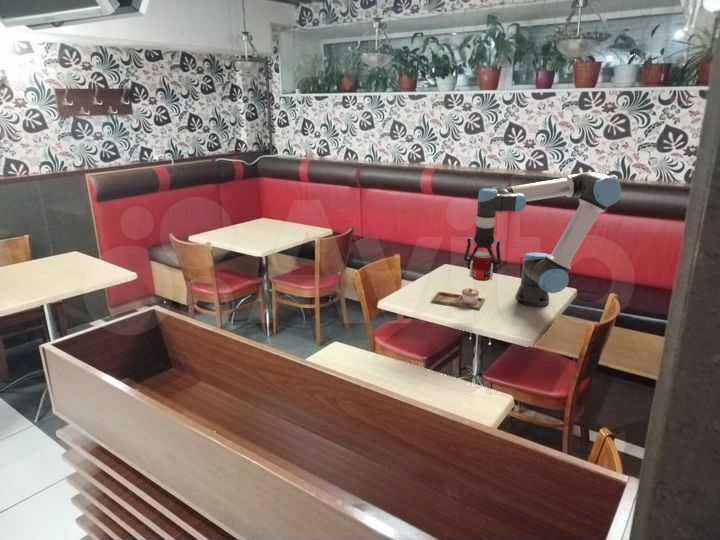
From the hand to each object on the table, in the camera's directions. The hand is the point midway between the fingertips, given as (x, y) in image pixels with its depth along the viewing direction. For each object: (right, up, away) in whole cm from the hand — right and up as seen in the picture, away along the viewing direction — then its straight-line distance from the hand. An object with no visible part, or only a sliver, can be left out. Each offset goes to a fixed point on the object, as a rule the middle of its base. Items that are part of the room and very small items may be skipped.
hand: (480, 277), depth 231 cm
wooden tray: (-7, -12, +17) cm, 22 cm away
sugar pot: (-2, -12, +15) cm, 19 cm away
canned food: (0, 0, 0) cm, 1 cm away
